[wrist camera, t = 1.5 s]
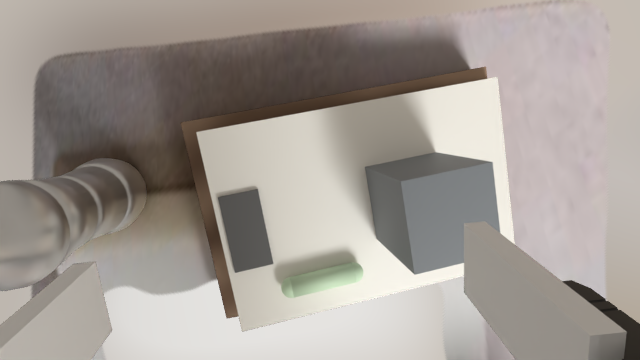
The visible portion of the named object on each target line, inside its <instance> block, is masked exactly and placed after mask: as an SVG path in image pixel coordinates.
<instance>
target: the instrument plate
mask: <svg viewBox="0 0 640 360" xmlns="http://www.w3.org/2000/svg"><path fill="white" fill-rule="evenodd" d="M196 134H197V138H198V142H199V147H200V151H201V155H202V160H203V164H204V168H205V173H206V177H207V181H208V186H209V190H210V194H211V199H212V203H213V207H214V212H215V216H216V220H217V225H218V229H219V233H220V238H221V242H222V246H223V251H224V255H225V259H226V264H227V268H228V272H229V277H230V281H231V285H232V290H233V294H234V298H235V303H236V307H237V311H238V316H239V319H240V324H241V328H242V331H247V330H251V329H255V328H259V327H263V326H267V325H271V324H275V323H279V322H283V321H287V320H291V319H295V318H299V317H303V316H307V315H311V314H315V313H319V312H323V311H327V310H331V309H335V308H339V307H343V306H346V305H351V304H355V303H358V302H363V301H366V300H371V299H375V298H379V297H383V296H386V295H391V294H395V293H398V292H403V291H407V290H410V289H414V288H418V287H422V286H426V285H430V284H434V283H438V282H442V281H446V280H450V279H454V278H458V277H462V276H464V223H474V222H483V221H485V222H486V223H488V224H489V225H490V226H492V227H493V228H494V229H495V230H497V231H498V232H499V233H501V234H502V235H503V236H504V237H506V238H507V239H508V240H510V241H511V242H512V243H513V244H515V242H514V233H513V223H512V213H511V203H510V194H509V184H508V174H507V165H506V155H505V145H504V136H503V126H502V116H501V107H500V97H499V87H498V78H497V77H494V78H489V79H483V80H478V81H472V82H467V83H461V84H456V85H450V86H445V87H440V88H434V89H429V90H423V91H418V92H412V93H407V94H401V95H396V96H391V97H385V98H380V99H374V100H369V101H363V102H358V103H352V104H347V105H341V106H336V107H331V108H325V109H320V110H314V111H309V112H303V113H298V114H292V115H287V116H282V117H276V118H271V119H265V120H260V121H254V122H249V123H243V124H238V125H233V126H227V127H222V128H216V129H211V130H205V131H200V132H196Z"/></svg>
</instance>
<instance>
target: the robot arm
mask: <svg viewBox="0 0 640 360" xmlns="http://www.w3.org/2000/svg"><path fill="white" fill-rule="evenodd" d="M464 293H465V294H466V295H467V297H468V298H469V299H470V300H471V302H472V303H473V304H474V306H475V307H476V308H477V310H478V311H479V312H480V314H481V315H482V316H483V317H484V319H485V320H486V321H487V323H488V324H489V325H490V327H491V328H492V329H493V330H494V332H495V333H496V334H497V336H498V337H499V338H500V340H501V341H502V342H503V344H504V345H505V346H506V347H507V349H508V350H509V351H510V353H511V354H512V355H513V357H514V358H515V359H516V360H640V324H639V323H637V322H636V321H635V320H633V319H632V318H630V317H629V316H628V315H627V314H625V313H624V312H622V311H621V310H618V309H617V307H615V306H614V305H613V304H611V303H610V302H609V301H606V300H605V298H603V297H602V296H600V295H599V294H598V293H596V292H595V291H594V290H592V289H591V288H588V287H586V286H584V285H581V284H579V283H576V282H574V281H572V280H571V281H561V280H560V279H558V278H557V277H556V276H554V275H553V274H552V273H551V272H549V271H548V270H547V269H545V268H544V267H543V266H542V265H540V264H539V263H538V262H537V261H535V260H534V259H533V258H531V257H530V256H529V255H528V254H526V253H525V252H524V251H522V250H521V249H520V248H519V247H517V246H516V245H515V244H513V243H512V242H511V241H510V240H508V239H507V238H506V237H504V236H503V235H502V234H501V233H499V232H498V231H497V230H495V229H494V228H493V227H492V226H490V225H489V224H488V223H486V222H485V221H483V222H474V223H464ZM111 331H112V327H111V323H110V319H109V315H108V311H107V307H106V302H105V299H104V294H103V290H102V286H101V282H100V278H99V274H98V270H97V266H96V262H87V263H77V264H73V265H72V266H70V267H69V268H68V269H67V270H66V271H64V272H63V273H62V274H61V275H60V276H58V277H57V278H56V279H55V280H54V281H52V282H51V283H50V284H49V285H48V286H46V287H45V288H44V289H43V290H42V291H41V292H39V293H38V294H37V295H36V296H35V297H33V298H32V299H31V300H30V301H29V302H27V303H26V304H25V305H24V306H23V307H21V308H20V309H19V310H18V311H17V312H15V313H14V314H13V315H12V316H11V317H9V318H8V319H7V320H6V321H5V322H4V323H2V324H1V325H0V360H91V359H92V357H93V356H94V355H95V353H96V352H97V351H98V349H99V348H100V347H101V345H102V344H103V342H104V341H105V340H106V338H107V337H108V336H109V334H110V333H111Z"/></svg>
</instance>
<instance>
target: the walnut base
mask: <svg viewBox="0 0 640 360" xmlns="http://www.w3.org/2000/svg"><path fill="white" fill-rule="evenodd" d="M483 79H487V72H486V67H481V68H476V69H470V70H465V71H459V72H454V73H449V74H443V75H438V76H432V77H427V78H421V79H416V80H410V81H405V82H399V83H394V84H388V85H383V86H377V87H372V88H367V89H361V90H356V91H350V92H345V93H339V94H334V95H328V96H323V97H317V98H312V99H306V100H301V101H296V102H290V103H285V104H279V105H274V106H268V107H263V108H257V109H252V110H246V111H241V112H235V113H230V114H224V115H219V116H214V117H208V118H203V119H197V120H192V121H186V122H181V127H182V131H183V135H184V140H185V144H186V148H187V152H188V157H189V161H190V165H191V169H192V174H193V178H194V182H195V186H196V190H197V195H198V199H199V203H200V207H201V212H202V216H203V220H204V224H205V229H206V233H207V237H208V241H209V246H210V250H211V254H212V258H213V262H214V267H215V271H216V275H217V279H218V284H219V288H220V292H221V296H222V300H223V305H224V309H225V313H226V317H227V318H232V317H237V316H238V311H237V307H236V303H235V298H234V294H233V290H232V285H231V281H230V277H229V272H228V268H227V264H226V259H225V255H224V251H223V246H222V242H221V238H220V233H219V229H218V225H217V220H216V216H215V212H214V207H213V203H212V199H211V194H210V190H209V186H208V181H207V177H206V173H205V168H204V164H203V160H202V155H201V151H200V147H199V142H198V138H197V134H196V132H200V131H205V130H211V129H216V128H222V127H227V126H233V125H238V124H243V123H249V122H254V121H260V120H265V119H271V118H276V117H282V116H287V115H292V114H298V113H303V112H309V111H314V110H320V109H325V108H331V107H336V106H341V105H347V104H352V103H358V102H363V101H369V100H374V99H380V98H385V97H391V96H396V95H401V94H407V93H412V92H418V91H423V90H429V89H434V88H440V87H445V86H450V85H456V84H461V83H467V82H472V81H478V80H483Z"/></svg>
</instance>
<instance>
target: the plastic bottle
mask: <svg viewBox="0 0 640 360" xmlns="http://www.w3.org/2000/svg"><path fill="white" fill-rule="evenodd" d="M146 198H147V189H146V184H145V182H144V179H143V177H142V176H141V174H140V173H139V171H138V170H137V169H136V168H134V167H133V166H132V165H130V164H129V163H127V162H124V161H122V160H118V159H111V158H99V159H93V160H91V161H89V162H86V163H84V164H82V165H80V166H78V167H77V168H75V169H74V170H73V171H71V172H68V173H66V174H63V175H61V176H57V177H51V178H46V179H40V180H14V181H13V180H12V181H10V180H9V181H1V182H0V291H8V290H13V289H18V288H23V287H27V286H30V285H32V284H35V283H37V282H39V281H40V280H42V279H43V278H45V277H46V276H47V275H48V274H50V273H51V272H53V271H54V270H55V269H56V268H57V267H58V266H59V265H60V264H61V263H62V262H63V261H64V260H65V259H66V258H67V257H68V256H70V255H71V254H72V253H73V252H74V251H75V250H77V249H78V248H79V247H81V246H82V245H84V244H85V243H87V242H88V241H89V240H92V239H94V238H96V237H99V236H101V235H106V234H111V233H114V232H117V231H119V230H122V229H124V228H126V227H128V226H129V225H131V224H132V223H133V222H134V221H135V220H136V218H137V217H138V216H139V215H140V213H141V212H142V210H143V208H144V206H145V203H146Z"/></svg>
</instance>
